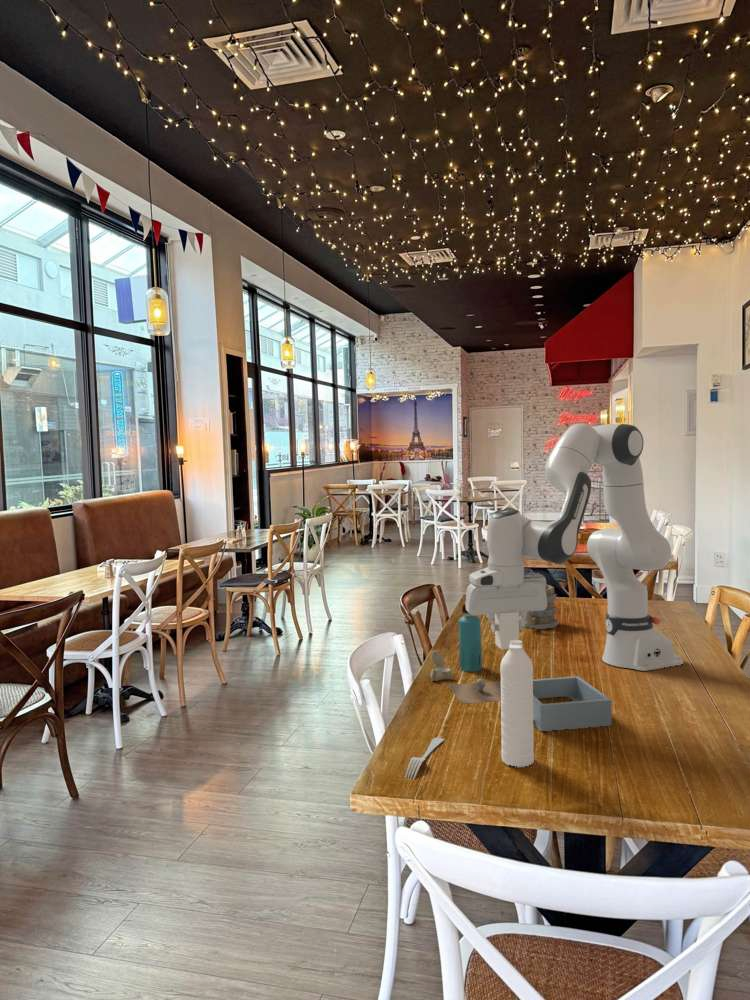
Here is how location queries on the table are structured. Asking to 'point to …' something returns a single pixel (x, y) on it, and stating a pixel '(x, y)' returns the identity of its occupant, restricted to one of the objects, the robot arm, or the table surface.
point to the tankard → (543, 613)
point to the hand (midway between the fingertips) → (506, 629)
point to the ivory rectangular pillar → (506, 629)
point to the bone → (440, 668)
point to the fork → (432, 746)
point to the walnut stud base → (477, 691)
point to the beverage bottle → (470, 642)
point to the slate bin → (569, 705)
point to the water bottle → (517, 707)
